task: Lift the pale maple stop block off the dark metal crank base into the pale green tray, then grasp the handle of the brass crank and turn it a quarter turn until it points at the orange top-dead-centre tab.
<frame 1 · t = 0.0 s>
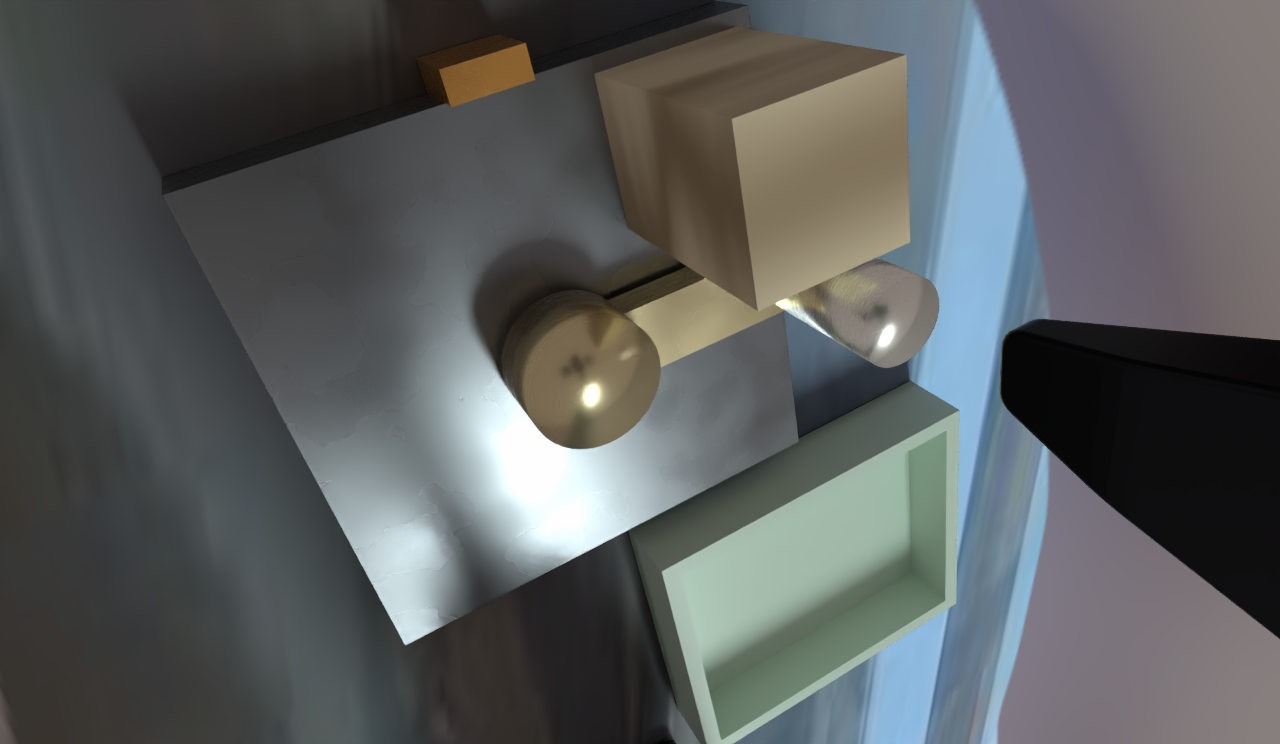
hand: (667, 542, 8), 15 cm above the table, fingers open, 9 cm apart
tray: (790, 550, 33), on the table
crank base: (542, 329, 24), on the table
stop block: (681, 130, 21), point 1 cm above the table, touching crank base
crank: (716, 343, 21), point 4 cm above the table, hinge at 0.0°
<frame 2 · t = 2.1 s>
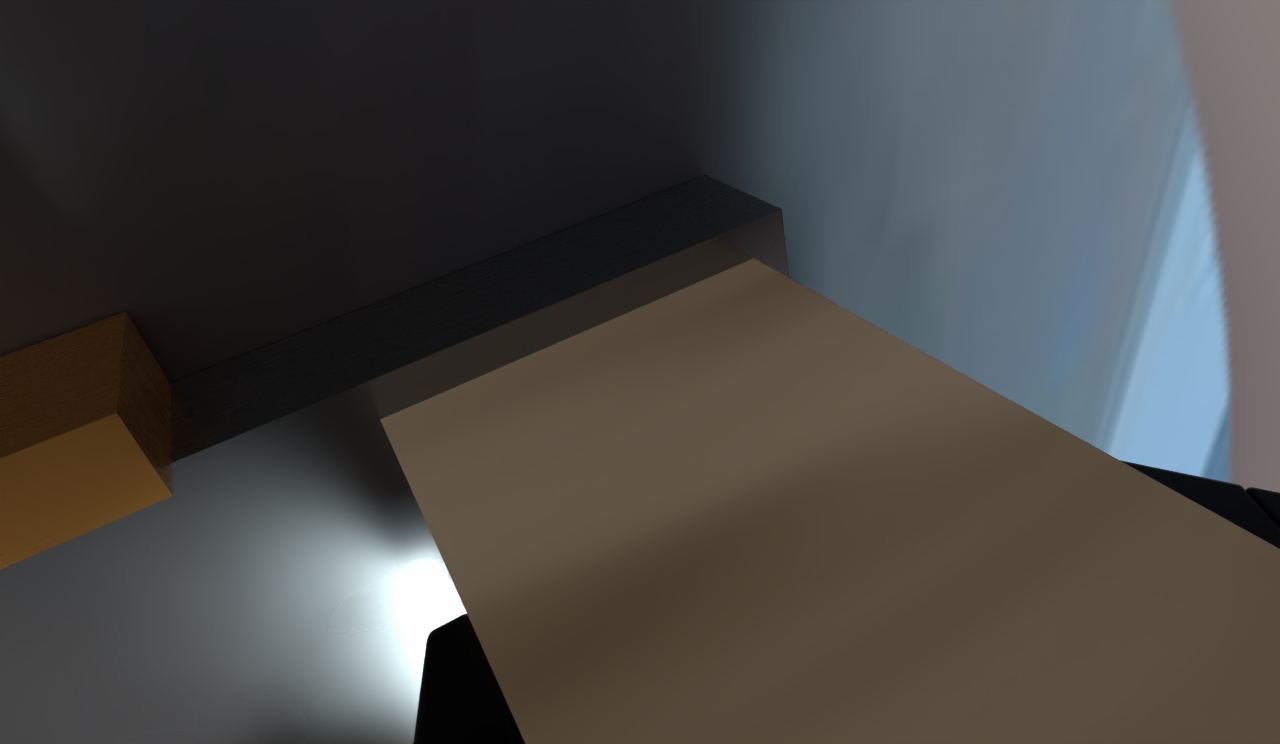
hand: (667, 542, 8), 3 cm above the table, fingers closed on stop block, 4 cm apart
stop block: (622, 487, 9), point 1 cm above the table, touching crank base, gripper
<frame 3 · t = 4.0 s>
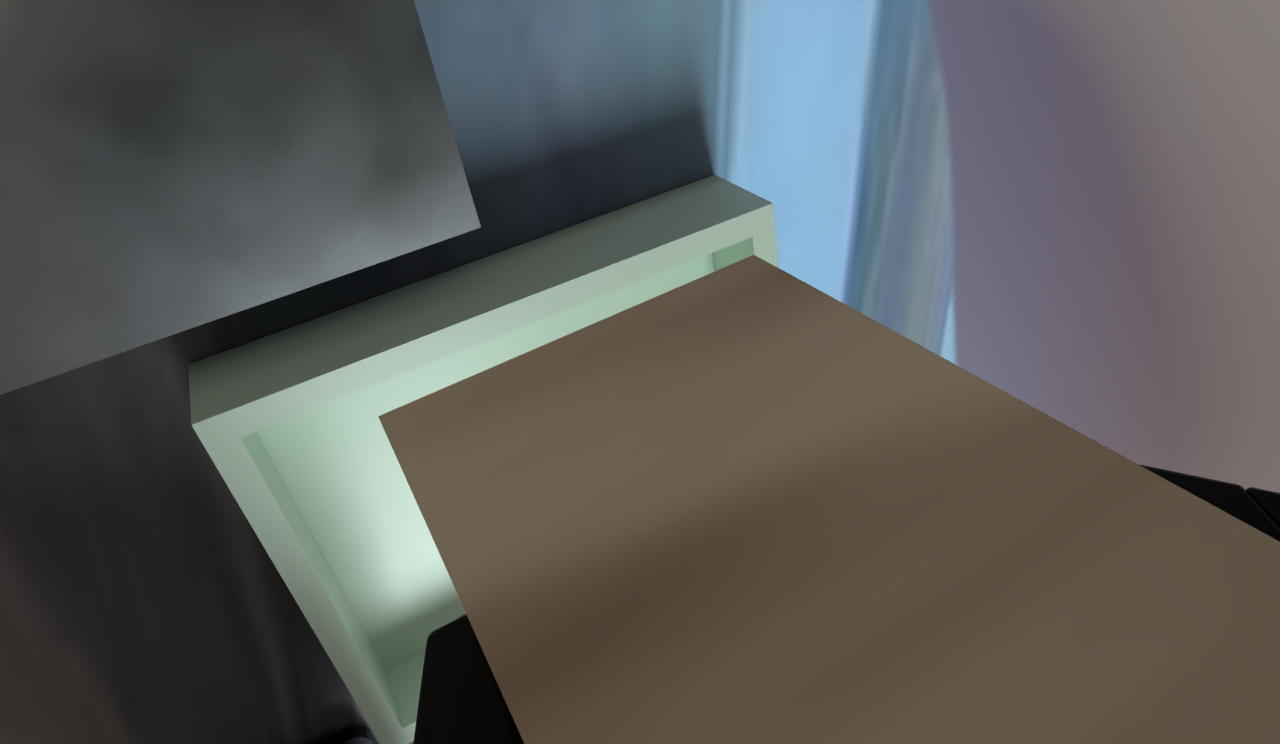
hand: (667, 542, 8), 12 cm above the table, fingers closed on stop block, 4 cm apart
tray: (532, 440, 21), on the table
stop block: (622, 485, 9), point 11 cm above the table, touching gripper
when the fingers open (3 cm above the table, at t = 6.4 s): stop block drops 2 cm, resting on tray.
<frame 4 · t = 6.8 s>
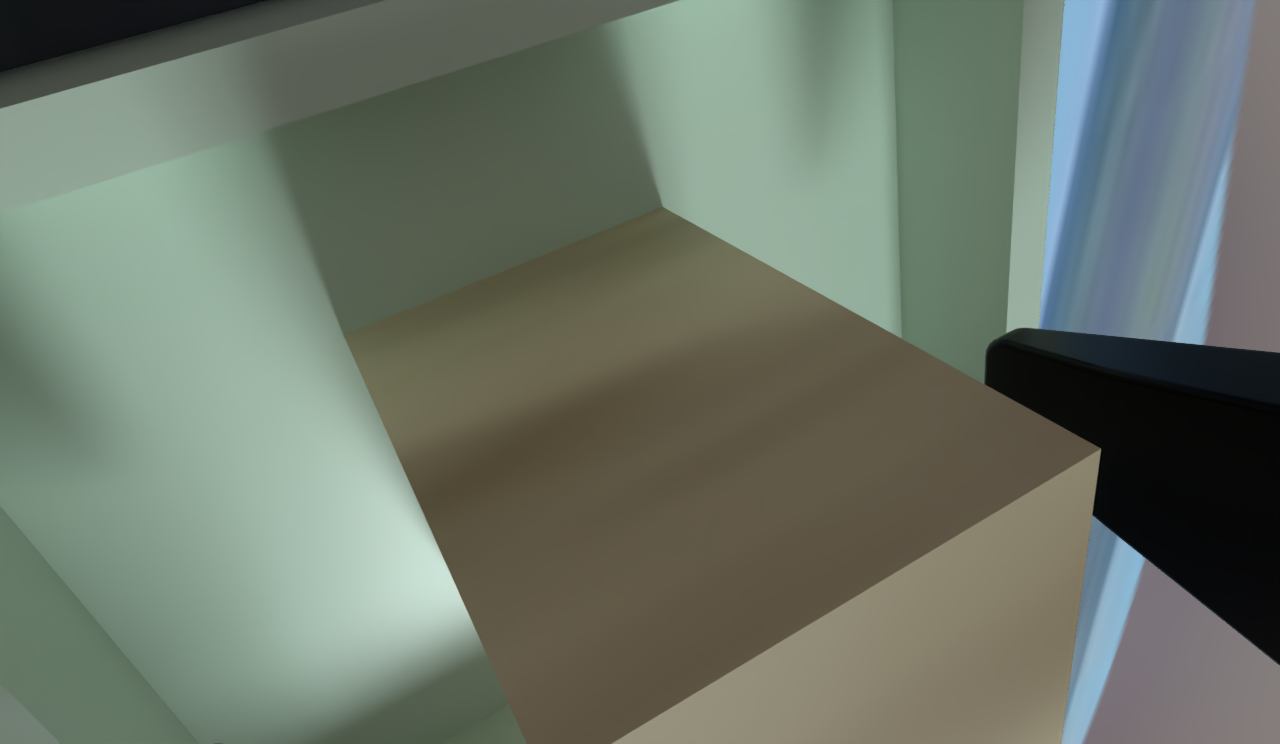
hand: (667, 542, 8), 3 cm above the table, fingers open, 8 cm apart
tray: (543, 387, 11), on the table
stop block: (556, 405, 11), resting on tray
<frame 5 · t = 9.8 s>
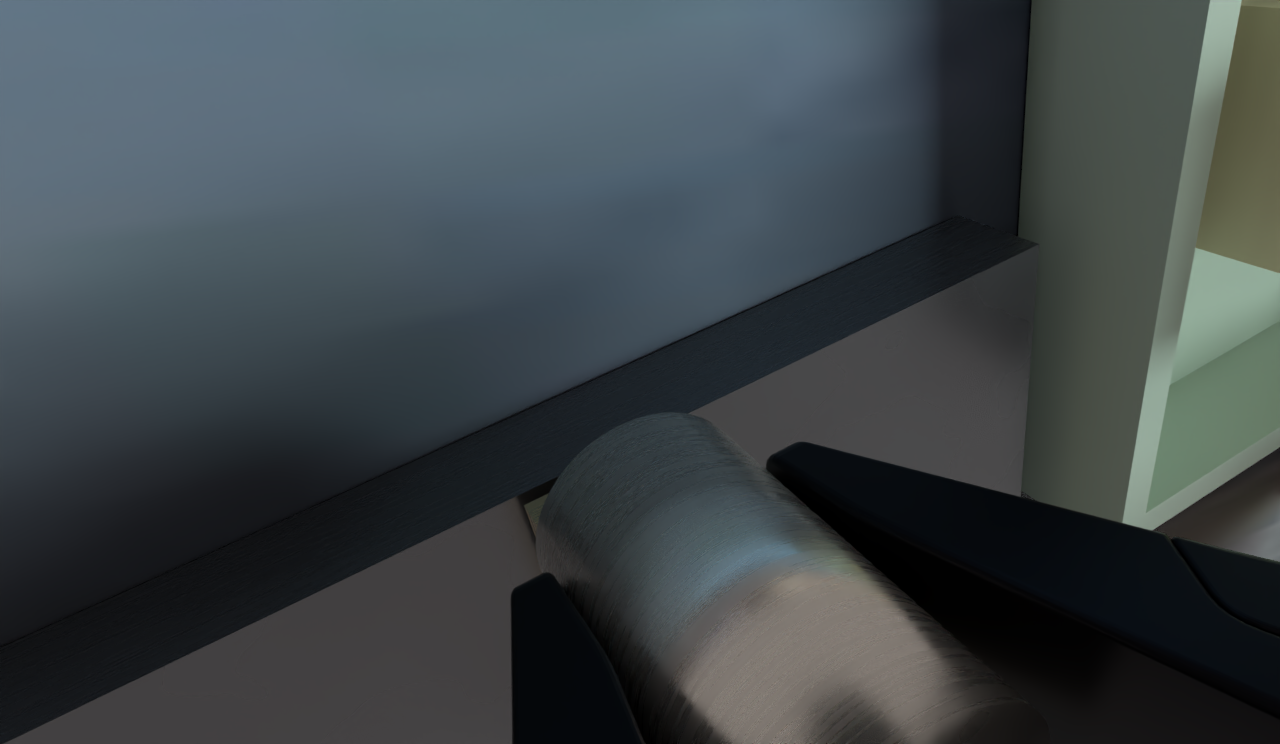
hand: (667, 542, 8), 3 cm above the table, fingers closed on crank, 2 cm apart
tray: (1237, 89, 15), on the table
crank base: (649, 719, 15), on the table
stop block: (1267, 94, 14), resting on tray
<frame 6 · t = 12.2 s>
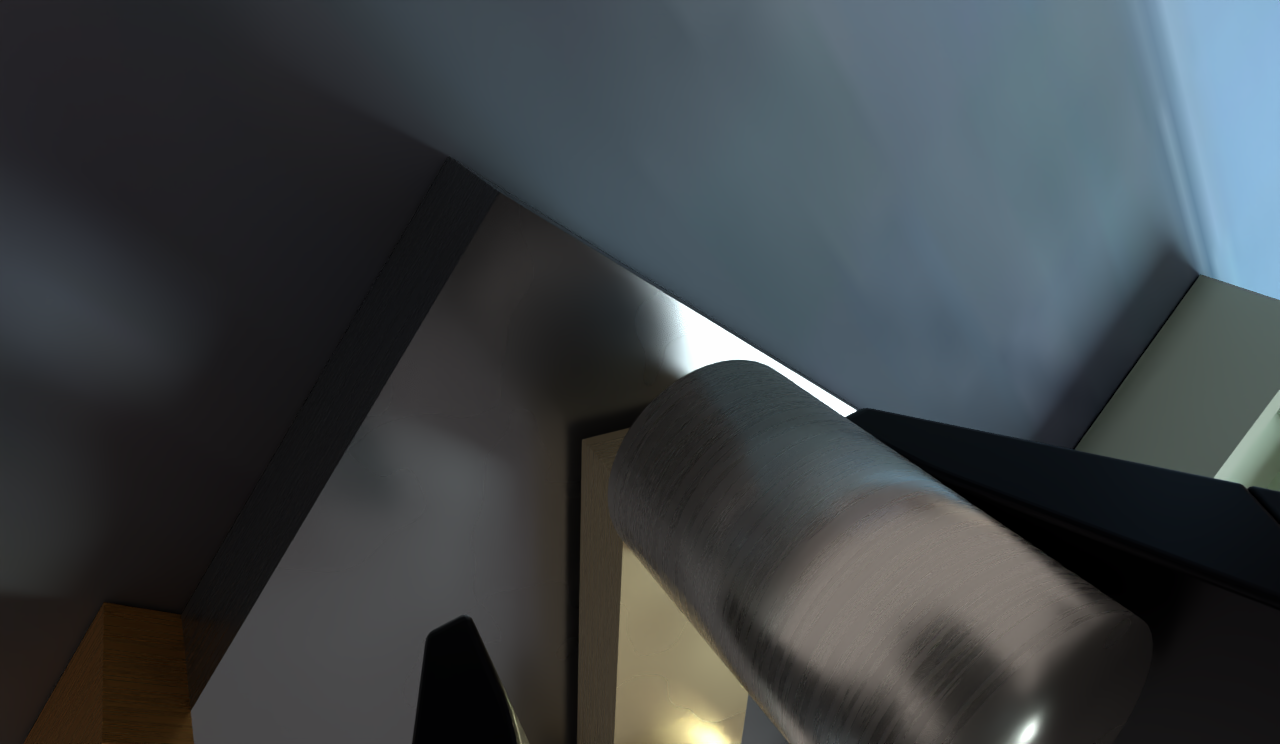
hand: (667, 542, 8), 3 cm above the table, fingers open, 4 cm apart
tray: (1108, 562, 22), on the table
crank base: (586, 733, 14), on the table
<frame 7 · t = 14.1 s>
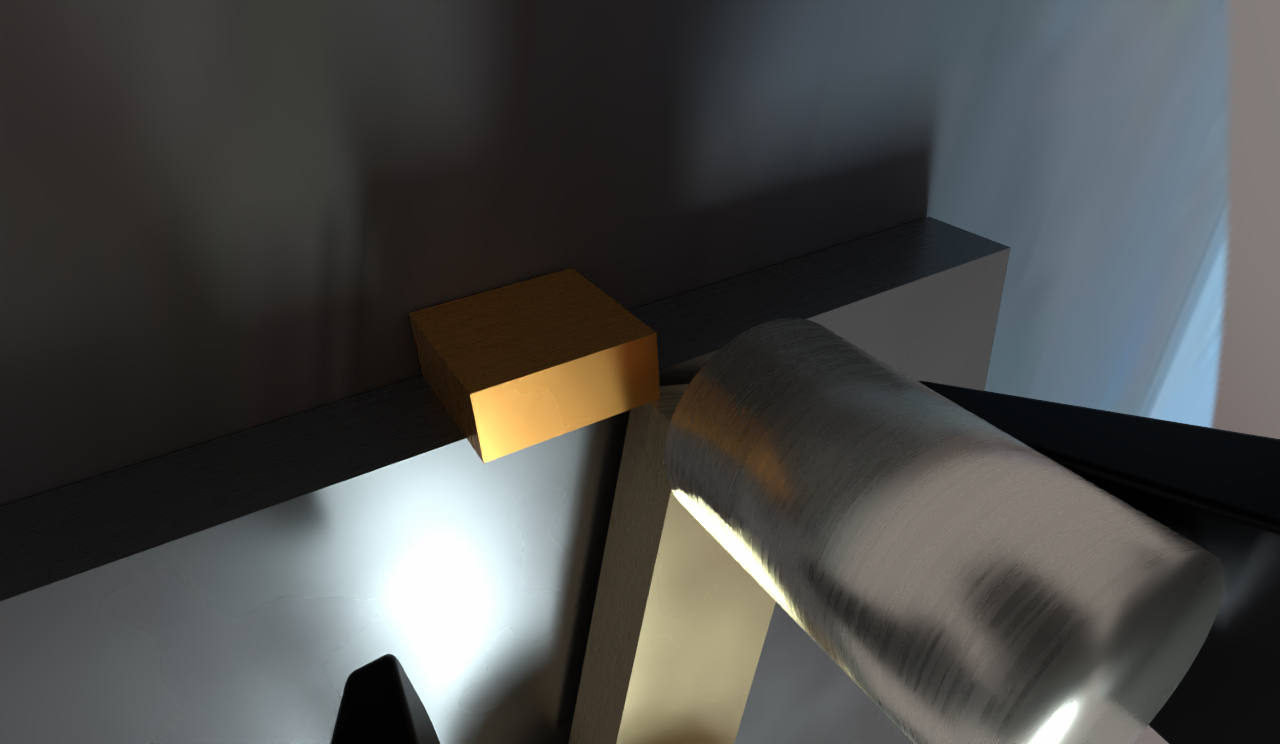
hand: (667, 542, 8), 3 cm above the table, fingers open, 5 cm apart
crank base: (565, 720, 14), on the table
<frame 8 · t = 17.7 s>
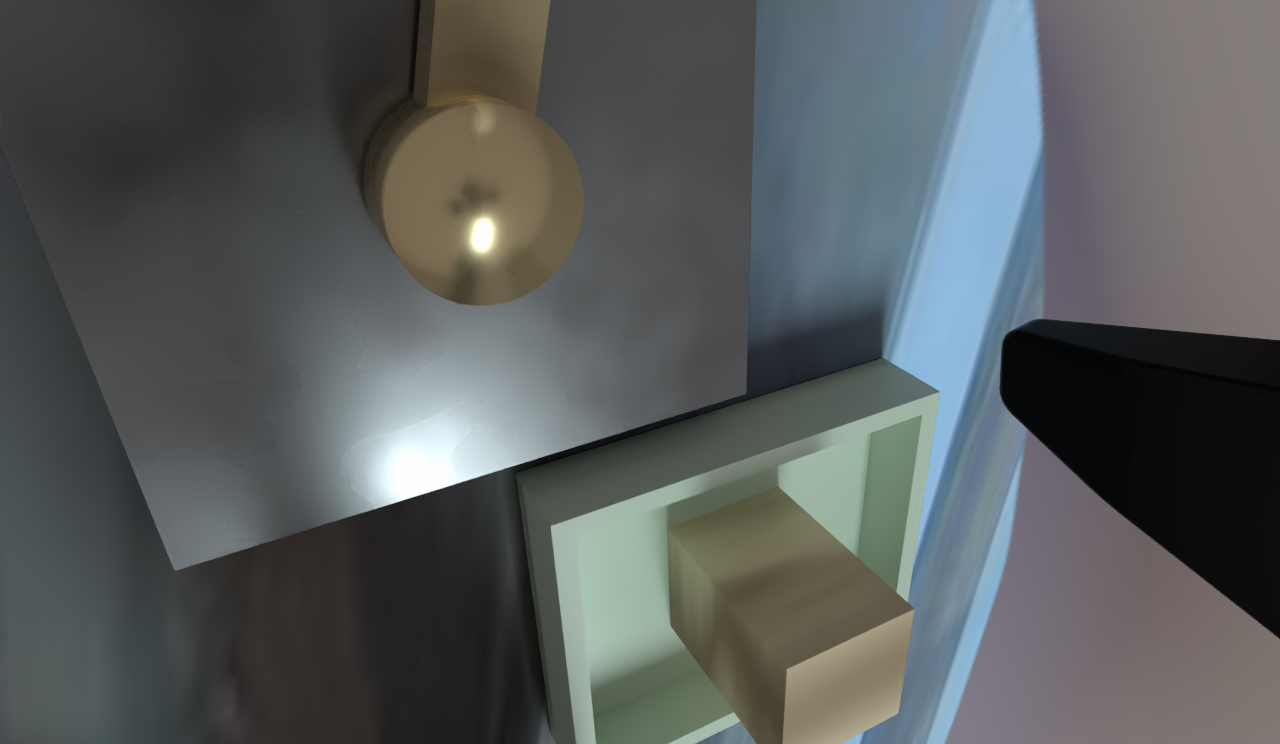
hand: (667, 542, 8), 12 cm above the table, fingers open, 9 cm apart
tray: (716, 547, 27), on the table
crank base: (435, 164, 18), on the table
stop block: (724, 556, 26), resting on tray
crank: (523, 19, 13), point 4 cm above the table, hinge at 75.7°, touching crank base
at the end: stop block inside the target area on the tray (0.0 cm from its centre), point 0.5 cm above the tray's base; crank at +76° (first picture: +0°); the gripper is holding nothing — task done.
